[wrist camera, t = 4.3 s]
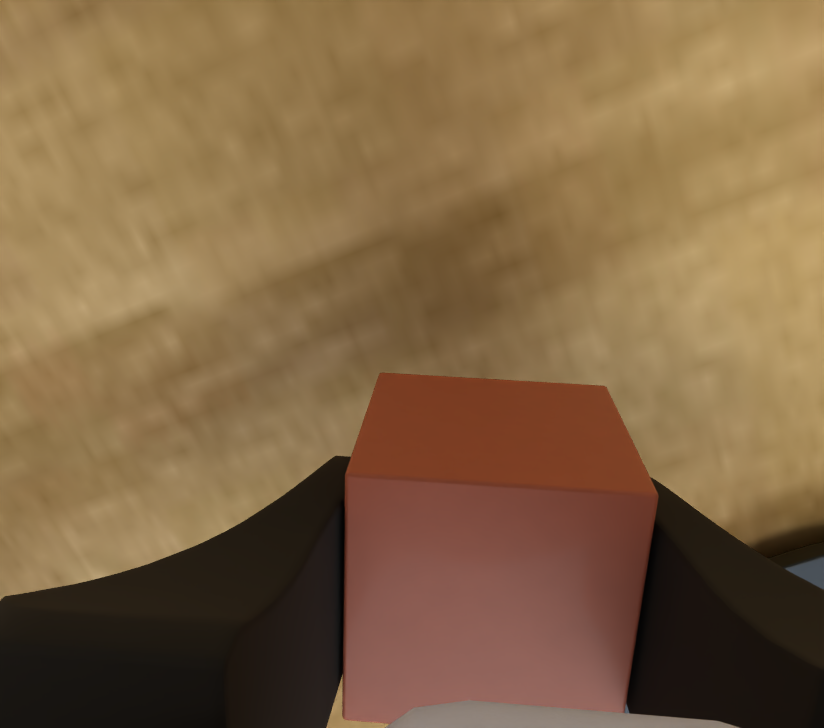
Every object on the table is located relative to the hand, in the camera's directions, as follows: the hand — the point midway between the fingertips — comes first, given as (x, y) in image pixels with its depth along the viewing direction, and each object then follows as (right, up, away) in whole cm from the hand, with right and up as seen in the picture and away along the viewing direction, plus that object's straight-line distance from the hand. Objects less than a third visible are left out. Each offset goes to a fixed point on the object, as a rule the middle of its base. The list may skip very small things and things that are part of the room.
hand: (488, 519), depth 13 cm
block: (0, 0, +1) cm, 1 cm away
